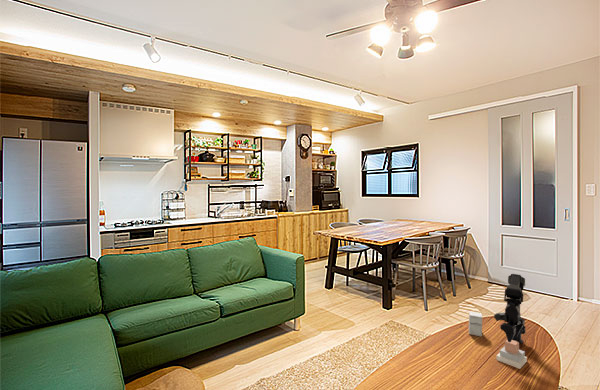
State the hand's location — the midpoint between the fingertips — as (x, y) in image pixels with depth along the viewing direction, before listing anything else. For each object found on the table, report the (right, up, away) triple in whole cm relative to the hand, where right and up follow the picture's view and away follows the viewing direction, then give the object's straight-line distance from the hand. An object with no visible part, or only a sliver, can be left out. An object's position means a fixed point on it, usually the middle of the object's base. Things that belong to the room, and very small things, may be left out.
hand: (512, 339), depth 171 cm
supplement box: (-2, -11, +32) cm, 34 cm away
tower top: (0, -10, 0) cm, 10 cm away
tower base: (0, -13, +1) cm, 13 cm away
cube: (0, -7, 0) cm, 7 cm away
